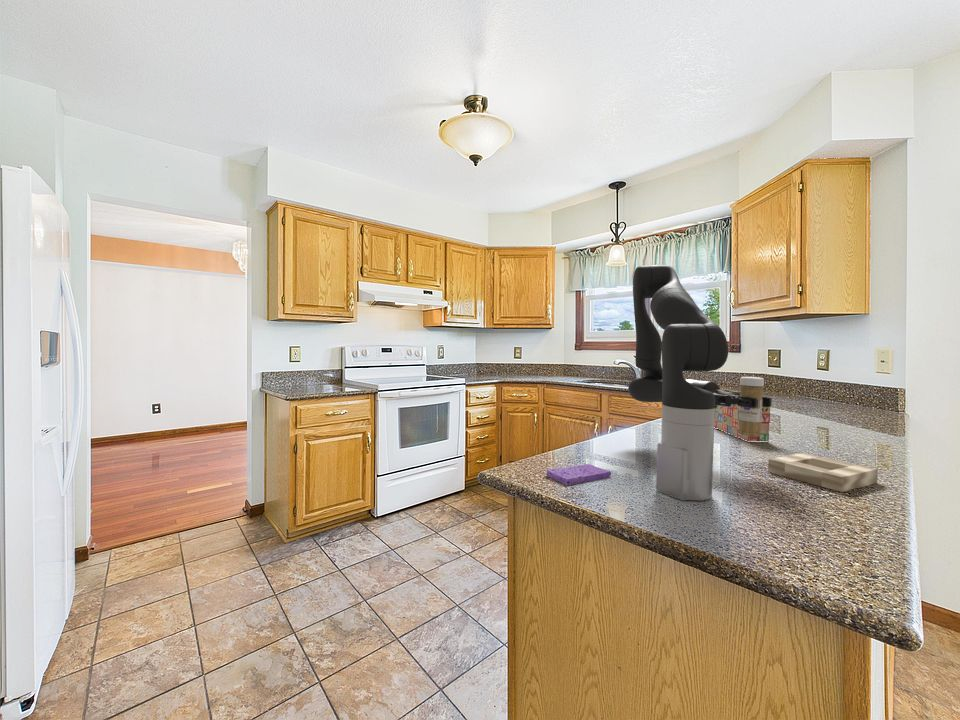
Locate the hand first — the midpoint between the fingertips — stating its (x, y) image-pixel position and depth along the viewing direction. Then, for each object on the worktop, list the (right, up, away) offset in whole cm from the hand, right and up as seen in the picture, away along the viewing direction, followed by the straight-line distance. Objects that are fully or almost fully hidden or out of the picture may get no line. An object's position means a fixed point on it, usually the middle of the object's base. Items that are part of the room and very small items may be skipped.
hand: (763, 402), depth 91 cm
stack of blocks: (+22, -16, +43) cm, 50 cm away
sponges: (-42, -17, -2) cm, 45 cm away
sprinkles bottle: (-1, -8, +3) cm, 8 cm away
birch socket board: (+12, -17, 0) cm, 21 cm away
